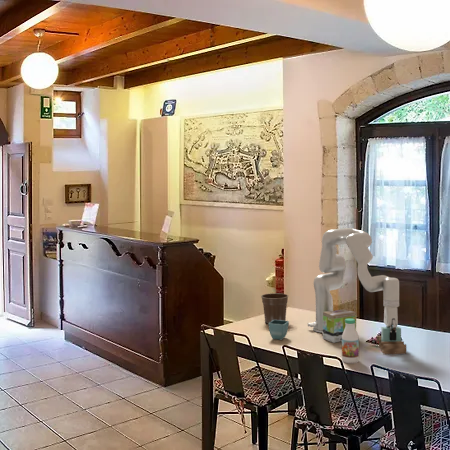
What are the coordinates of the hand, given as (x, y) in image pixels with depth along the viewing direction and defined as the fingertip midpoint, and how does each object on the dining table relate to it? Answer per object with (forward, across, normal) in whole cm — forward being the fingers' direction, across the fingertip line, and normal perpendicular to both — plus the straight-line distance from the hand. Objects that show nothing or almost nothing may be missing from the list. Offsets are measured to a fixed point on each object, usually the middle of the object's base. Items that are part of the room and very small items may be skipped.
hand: (391, 337), depth 304 cm
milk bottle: (+6, +19, -23) cm, 30 cm away
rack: (+6, 0, 0) cm, 6 cm away
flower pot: (+6, -21, -55) cm, 59 cm away
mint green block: (+5, 0, 0) cm, 5 cm away
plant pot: (+6, -56, -56) cm, 79 cm away
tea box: (+6, -19, -23) cm, 30 cm away
